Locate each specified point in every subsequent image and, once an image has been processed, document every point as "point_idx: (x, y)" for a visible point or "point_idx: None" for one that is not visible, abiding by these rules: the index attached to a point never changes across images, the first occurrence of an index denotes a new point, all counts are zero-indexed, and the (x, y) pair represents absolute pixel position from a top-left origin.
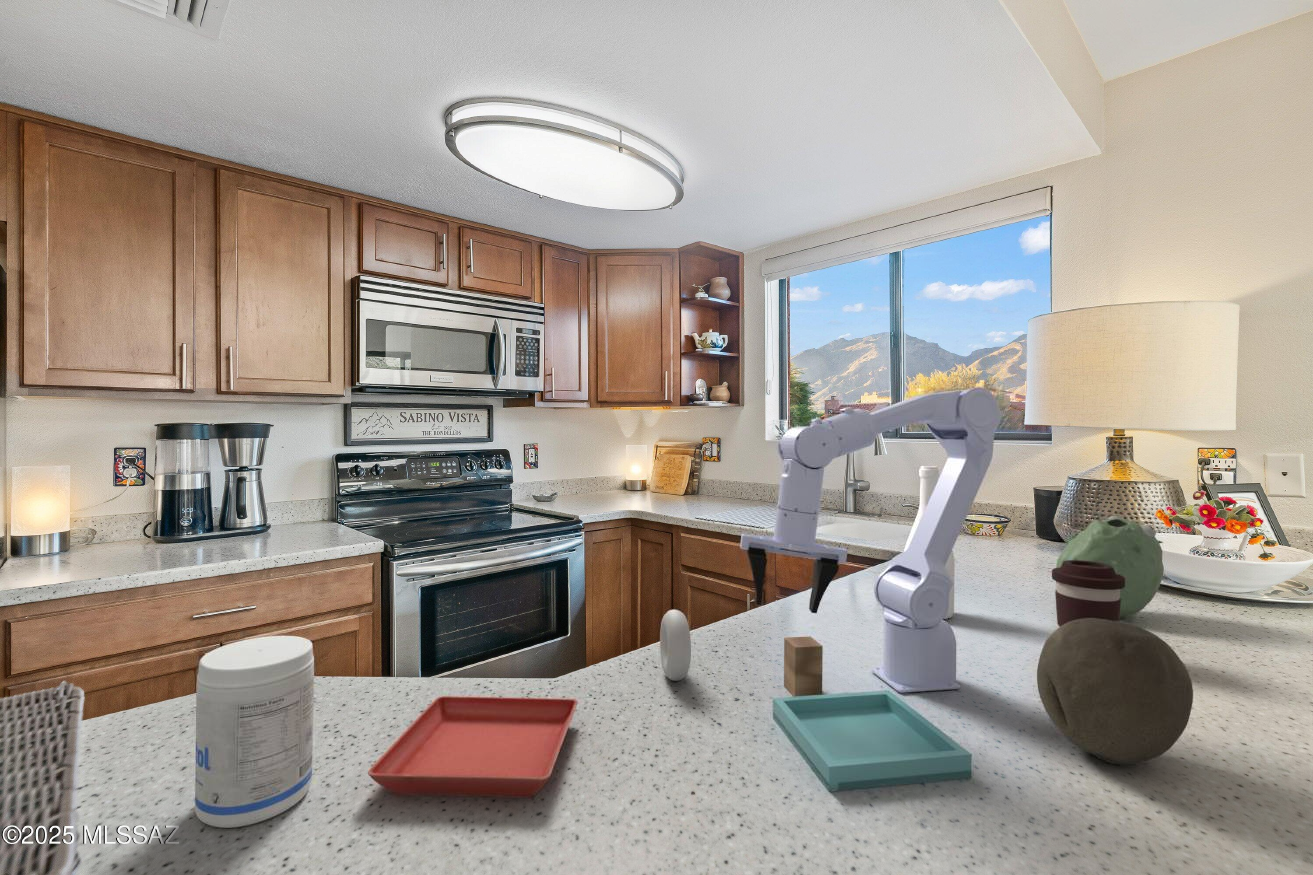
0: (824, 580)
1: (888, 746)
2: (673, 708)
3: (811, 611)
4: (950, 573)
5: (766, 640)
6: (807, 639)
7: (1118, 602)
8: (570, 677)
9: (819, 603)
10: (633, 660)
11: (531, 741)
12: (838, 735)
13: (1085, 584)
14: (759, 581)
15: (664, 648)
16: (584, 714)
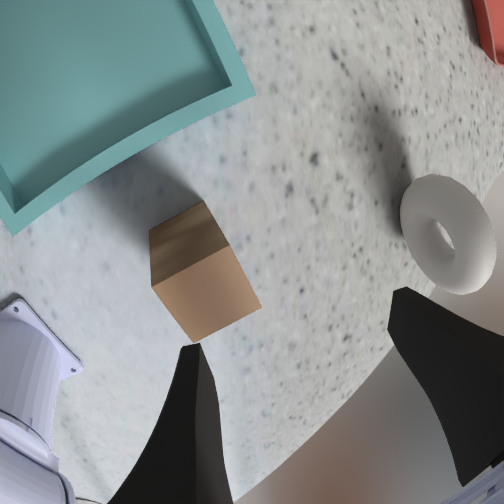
0: (164, 470)
1: (27, 35)
2: (401, 102)
3: (202, 350)
4: None
5: (269, 405)
6: (199, 318)
7: None
8: (493, 177)
9: (174, 376)
10: None
11: (489, 13)
12: (112, 34)
13: None
14: (465, 331)
15: (445, 241)
16: (474, 77)
